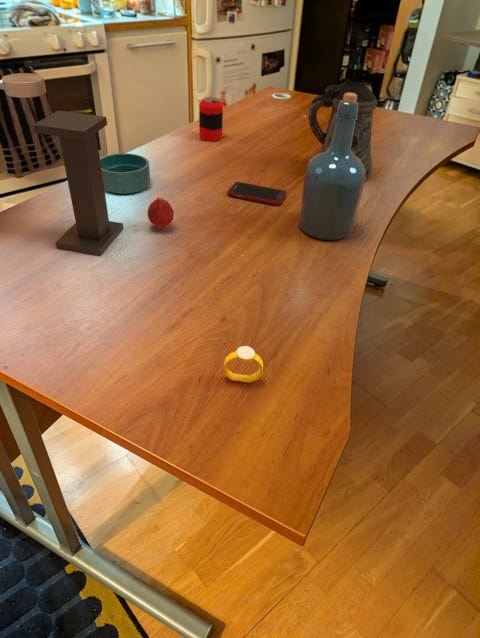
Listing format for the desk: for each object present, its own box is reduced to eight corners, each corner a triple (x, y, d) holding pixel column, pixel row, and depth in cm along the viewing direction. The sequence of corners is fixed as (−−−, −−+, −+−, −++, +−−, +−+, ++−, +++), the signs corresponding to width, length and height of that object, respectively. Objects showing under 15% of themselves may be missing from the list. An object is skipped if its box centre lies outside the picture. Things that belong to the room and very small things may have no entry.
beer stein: (380, 181, 134) (404, 88, 118) (321, 187, 128) (338, 90, 112) (351, 159, 146) (369, 72, 130) (295, 165, 140) (308, 74, 124)
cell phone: (279, 206, 118) (280, 203, 117) (226, 195, 121) (226, 192, 120) (287, 194, 123) (287, 191, 123) (235, 184, 127) (235, 181, 126)
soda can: (205, 143, 150) (206, 104, 142) (195, 135, 155) (195, 97, 147) (226, 140, 153) (227, 101, 145) (215, 133, 158) (216, 95, 150)
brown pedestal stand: (56, 248, 98) (27, 127, 81) (83, 222, 107) (62, 108, 90) (100, 256, 96) (80, 134, 80) (123, 228, 105) (109, 114, 89)
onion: (178, 226, 108) (177, 194, 103) (165, 236, 104) (163, 204, 98) (157, 219, 109) (155, 188, 104) (143, 230, 105) (140, 197, 100)
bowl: (91, 191, 119) (87, 168, 115) (112, 172, 129) (109, 150, 125) (139, 198, 117) (137, 176, 113) (157, 178, 127) (156, 157, 123)
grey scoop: (-51, 88, 83) (-56, 74, 81) (-26, 79, 88) (-30, 65, 87) (33, 99, 81) (29, 84, 79) (53, 89, 86) (50, 75, 85)
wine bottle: (349, 247, 104) (382, 107, 85) (292, 236, 107) (312, 97, 88) (355, 220, 115) (386, 90, 95) (303, 210, 117) (323, 81, 98)
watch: (222, 384, 71) (223, 357, 67) (223, 371, 73) (225, 344, 69) (261, 387, 71) (264, 360, 67) (261, 374, 73) (264, 347, 69)
